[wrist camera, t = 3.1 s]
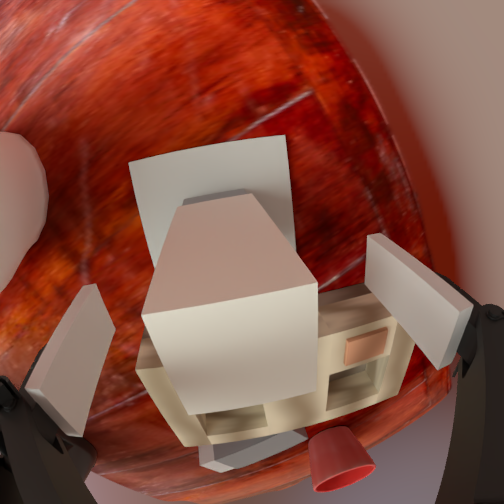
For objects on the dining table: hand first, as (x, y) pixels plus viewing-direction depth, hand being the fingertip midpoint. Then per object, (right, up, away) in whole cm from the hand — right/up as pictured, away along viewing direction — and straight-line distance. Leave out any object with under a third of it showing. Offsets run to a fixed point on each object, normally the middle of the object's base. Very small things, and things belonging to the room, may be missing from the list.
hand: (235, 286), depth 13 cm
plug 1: (-2, +4, +9) cm, 10 cm away
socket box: (+4, -10, +17) cm, 20 cm away
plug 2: (0, -24, +23) cm, 33 cm away
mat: (-2, +4, +10) cm, 11 cm away
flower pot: (+14, -31, +28) cm, 44 cm away
